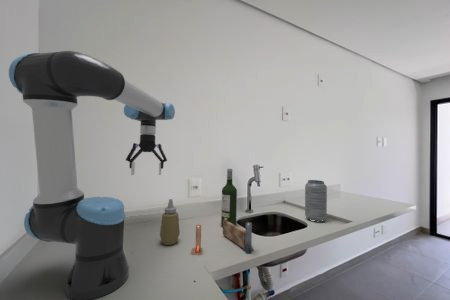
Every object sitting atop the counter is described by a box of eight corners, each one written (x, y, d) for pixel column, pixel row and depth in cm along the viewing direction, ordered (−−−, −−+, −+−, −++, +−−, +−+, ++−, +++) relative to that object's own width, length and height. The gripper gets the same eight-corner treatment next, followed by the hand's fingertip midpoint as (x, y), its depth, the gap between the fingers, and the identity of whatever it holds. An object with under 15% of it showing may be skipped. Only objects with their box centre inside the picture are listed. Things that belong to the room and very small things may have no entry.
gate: (247, 247, 77) (247, 228, 77) (244, 248, 76) (244, 229, 76) (225, 233, 90) (226, 217, 90) (222, 234, 89) (223, 218, 89)
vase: (330, 221, 113) (330, 181, 114) (319, 224, 107) (319, 182, 107) (311, 215, 123) (312, 179, 123) (300, 218, 116) (301, 180, 117)
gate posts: (251, 246, 80) (252, 219, 80) (254, 254, 73) (255, 225, 73) (193, 245, 79) (193, 218, 79) (190, 254, 72) (191, 224, 72)
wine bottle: (218, 226, 101) (219, 168, 102) (228, 222, 107) (229, 168, 108) (229, 230, 96) (230, 169, 97) (239, 226, 102) (240, 169, 103)
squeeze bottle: (173, 236, 87) (174, 196, 88) (183, 242, 82) (184, 199, 82) (156, 242, 82) (157, 199, 82) (165, 249, 76) (166, 202, 76)
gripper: (172, 136, 109) (171, 174, 108) (125, 134, 105) (123, 173, 104) (171, 134, 101) (170, 175, 101) (120, 132, 97) (118, 175, 96)
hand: (146, 174), depth 102 cm, fingers open, 13 cm apart
